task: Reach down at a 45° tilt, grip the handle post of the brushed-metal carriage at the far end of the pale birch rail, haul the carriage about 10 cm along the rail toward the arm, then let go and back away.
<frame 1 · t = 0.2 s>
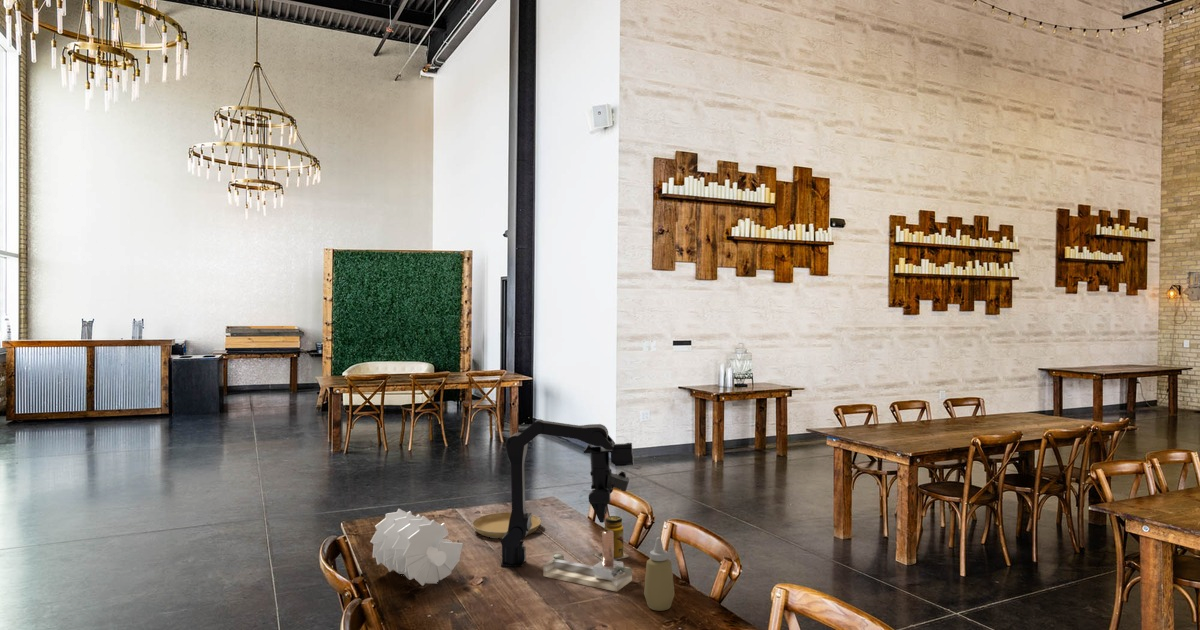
hand: (603, 517, 219), 14 cm above the table, tool pointing down, fingers open, 9 cm apart
condiment: (611, 556, 227), on the table
plant saucer: (507, 531, 255), on the table
carriage: (608, 554, 205), point 8 cm above the table, slide at 7.0 cm
spiral staircase: (415, 576, 212), on the table
squeeze bottle: (659, 607, 188), on the table
rail: (587, 578, 208), on the table
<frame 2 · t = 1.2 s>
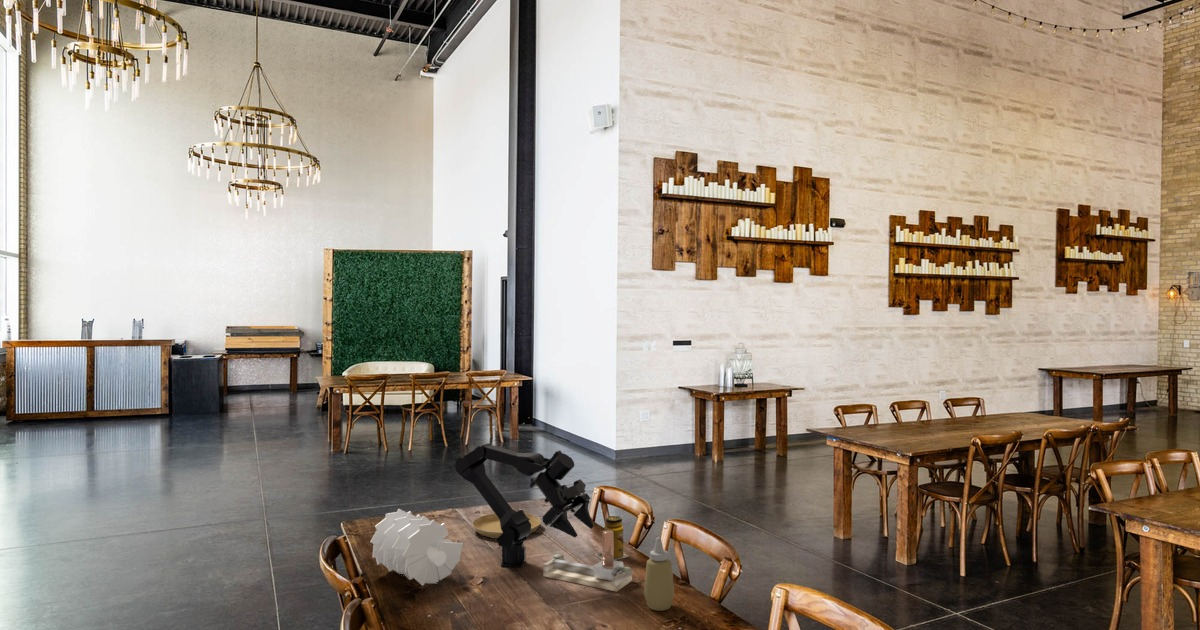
hand: (584, 532, 209), 13 cm above the table, tool tilted 45°, fingers open, 9 cm apart
nothing on the table moved.
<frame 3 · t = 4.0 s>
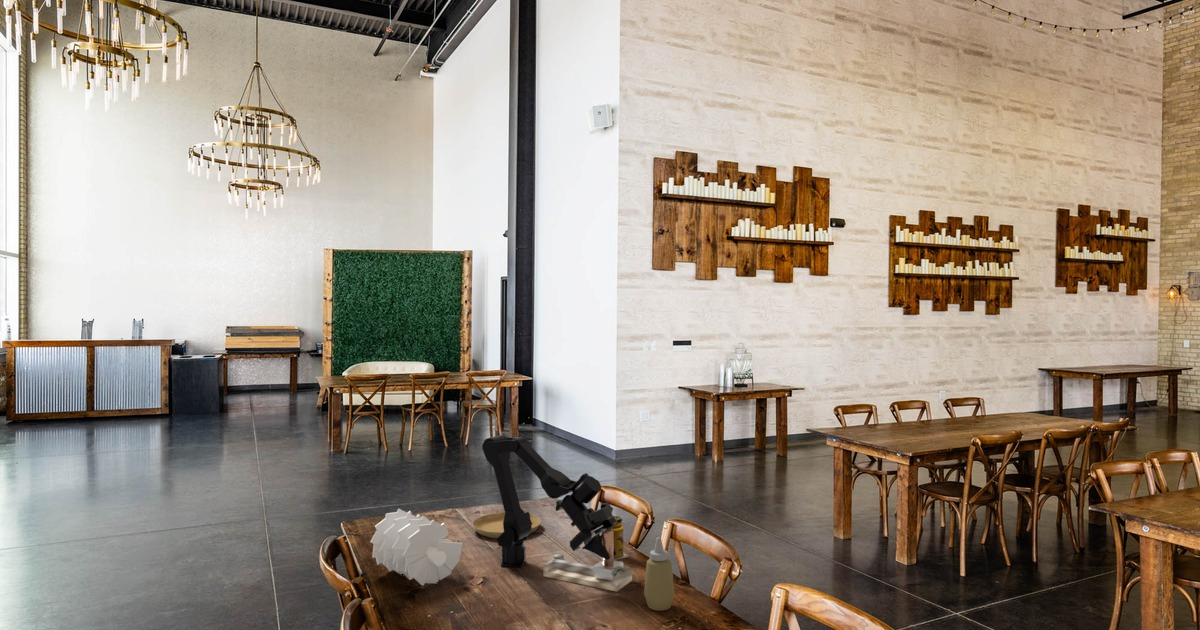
hand: (612, 557, 204), 8 cm above the table, tool tilted 45°, fingers closed on carriage, 3 cm apart
carriage: (608, 554, 205), point 8 cm above the table, slide at 7.0 cm, touching gripper, rail
everything else where it was.
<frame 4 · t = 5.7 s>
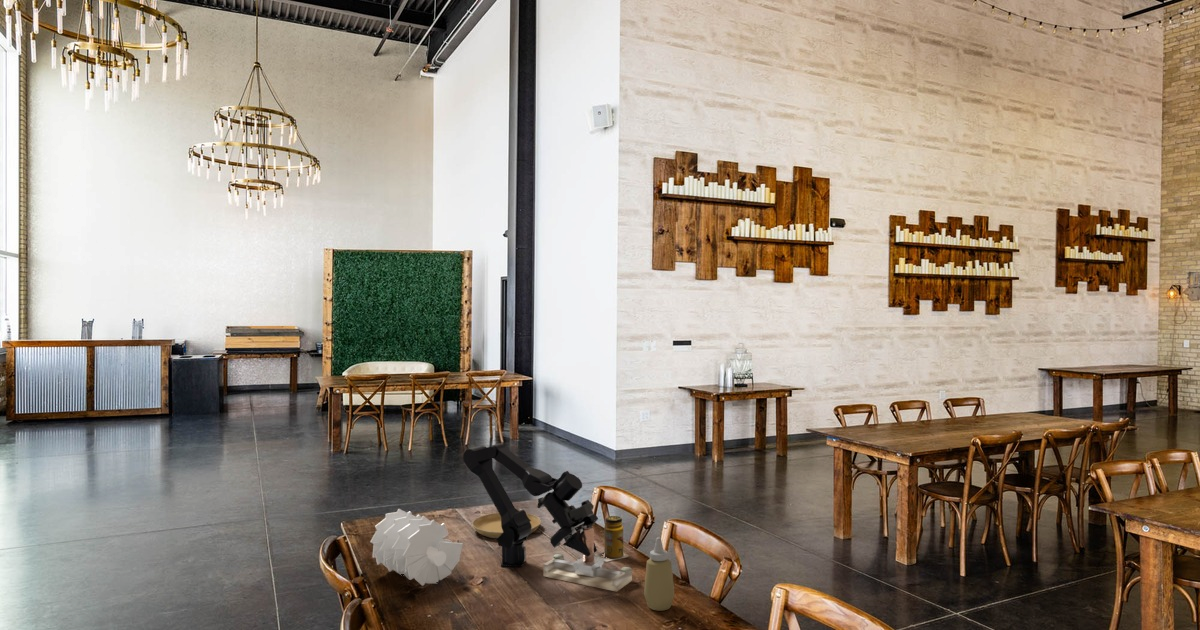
hand: (592, 553, 207), 8 cm above the table, tool tilted 45°, fingers closed on carriage, 3 cm apart
carriage: (588, 550, 208), point 8 cm above the table, slide at 0.6 cm, touching gripper
everything else where it was.
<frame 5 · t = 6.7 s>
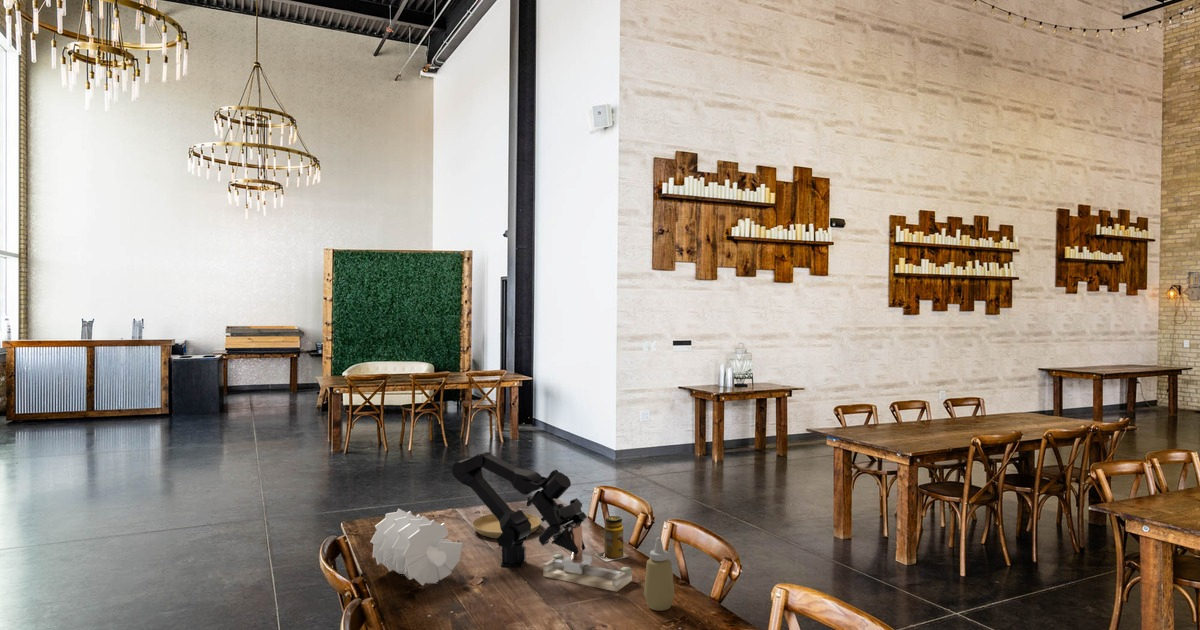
hand: (580, 551, 209), 8 cm above the table, tool tilted 45°, fingers closed on carriage, 3 cm apart
carriage: (576, 548, 210), point 8 cm above the table, slide at -3.4 cm, touching gripper
everything else where it was.
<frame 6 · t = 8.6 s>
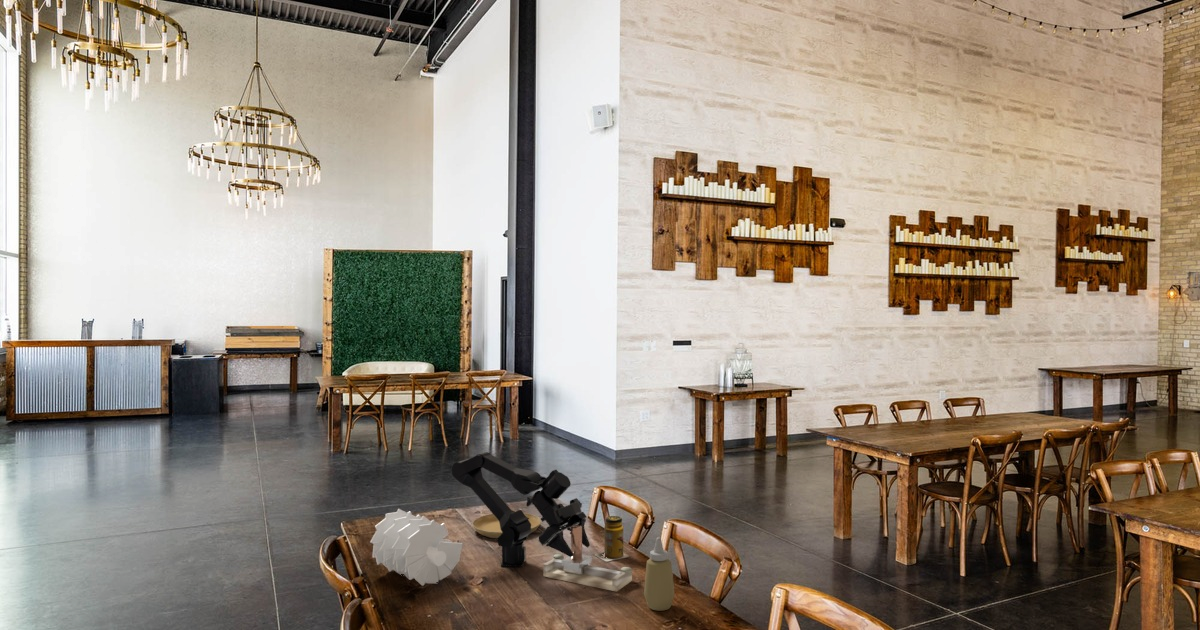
hand: (580, 551, 209), 8 cm above the table, tool tilted 45°, fingers open, 9 cm apart
carriage: (576, 548, 210), point 8 cm above the table, slide at -3.5 cm
everything else where it was.
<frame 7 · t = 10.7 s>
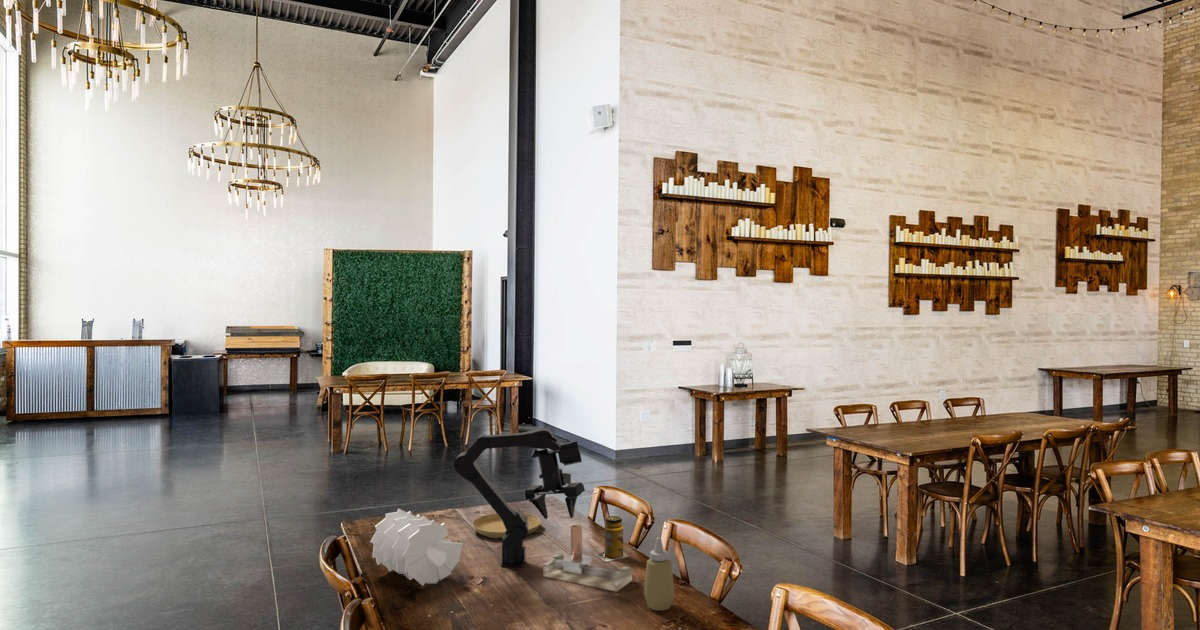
hand: (559, 518, 222), 13 cm above the table, tool pointing down, fingers open, 9 cm apart
nothing on the table moved.
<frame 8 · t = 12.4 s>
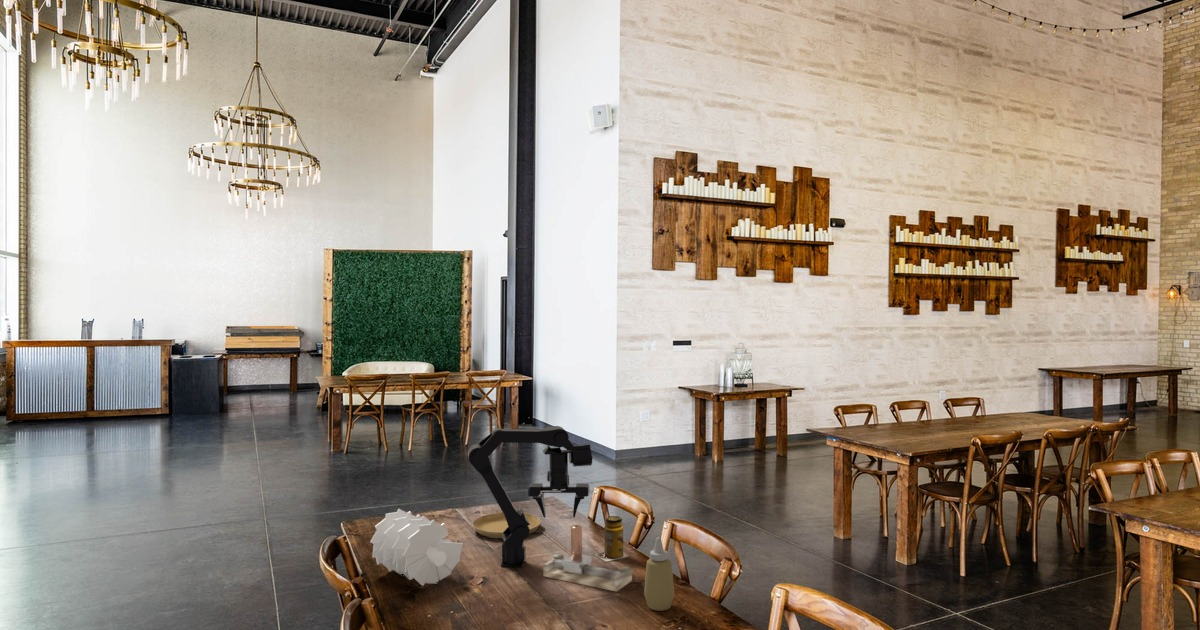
hand: (559, 517, 225), 13 cm above the table, tool pointing down, fingers open, 9 cm apart
nothing on the table moved.
at the end: carriage slide at -3.5 cm; the gripper is holding nothing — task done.
